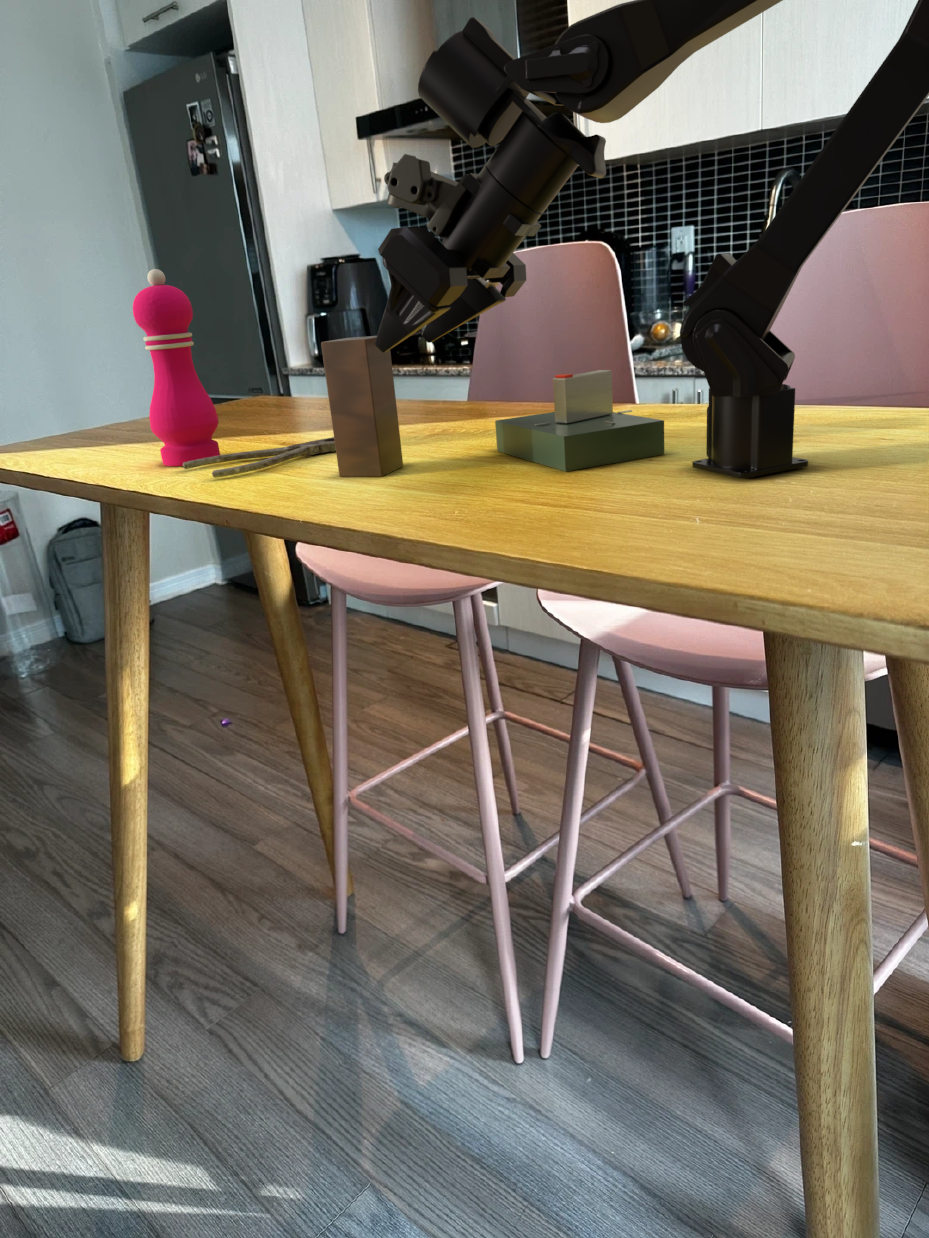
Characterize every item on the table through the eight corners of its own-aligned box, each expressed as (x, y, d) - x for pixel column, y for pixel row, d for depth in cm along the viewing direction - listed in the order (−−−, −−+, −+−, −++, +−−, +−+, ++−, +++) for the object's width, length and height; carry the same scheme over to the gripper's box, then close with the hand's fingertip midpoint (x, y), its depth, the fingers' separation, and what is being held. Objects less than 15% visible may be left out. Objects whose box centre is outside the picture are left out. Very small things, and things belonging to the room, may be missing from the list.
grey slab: (601, 413, 84) (599, 367, 83) (613, 414, 83) (611, 367, 82) (554, 423, 81) (552, 375, 80) (566, 424, 80) (564, 375, 78)
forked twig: (167, 465, 91) (318, 431, 105) (168, 473, 91) (319, 438, 105) (219, 471, 85) (372, 434, 98) (221, 480, 85) (373, 442, 99)
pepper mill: (189, 468, 94) (149, 267, 87) (144, 466, 98) (103, 273, 91) (238, 455, 99) (205, 265, 93) (194, 454, 103) (159, 271, 96)
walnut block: (403, 466, 84) (388, 334, 80) (382, 476, 80) (365, 339, 76) (362, 466, 86) (345, 338, 82) (339, 477, 82) (320, 342, 78)
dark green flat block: (675, 452, 79) (674, 416, 78) (565, 471, 75) (563, 434, 74) (594, 435, 91) (593, 404, 90) (497, 451, 87) (494, 419, 86)
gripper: (484, 132, 77) (386, 277, 85) (387, 101, 61) (279, 283, 70) (574, 220, 77) (468, 357, 85) (501, 211, 61) (379, 382, 69)
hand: (403, 343), depth 77 cm, fingers open, 9 cm apart
